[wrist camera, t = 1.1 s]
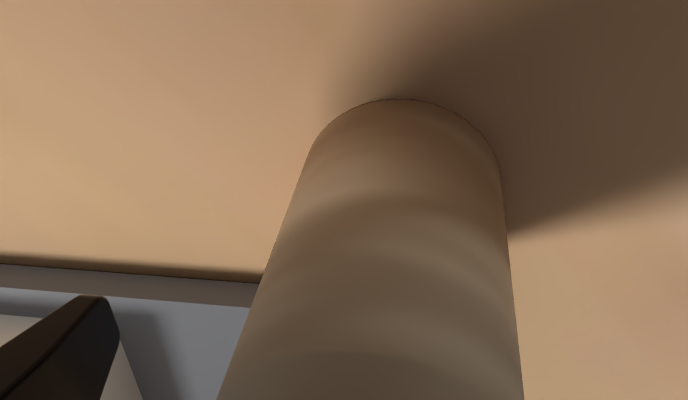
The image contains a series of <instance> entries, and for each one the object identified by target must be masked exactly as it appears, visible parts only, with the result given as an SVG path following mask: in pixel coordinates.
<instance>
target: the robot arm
mask: <svg viewBox="0 0 688 400" xmlns="http://www.w3.org/2000/svg"><path fill="white" fill-rule="evenodd" d="M119 342H120V330H119V327H118V325H117V322H116V319H115V317H114V314H113V311H112V309H111V306H110V303H109V301H108V300H107V299H106V298H105V297H104V296H98V295H86V294H83V295H79V296H76V297H75V298H73V299H72V300H70V301H69V302H67V303H66V304H64V305H63V306H61V307H59V308H58V309H56V310H55V311H53V312H52V313H50V314H49V315H47V316H46V317H44V318H43V319H41V320H40V321H38V322H37V323H35V324H34V325H32V326H31V327H29V328H28V329H26V330H25V331H23V332H22V333H20V334H19V335H17V336H16V337H14V338H13V339H11V340H10V341H8V342H7V343H5V344H4V345H2V346H1V347H0V400H100V398H101V395H102V392H103V389H104V387H105V384H106V381H107V378H108V375H109V372H110V369H111V367H112V364H113V361H114V358H115V355H116V352H117V349H118V346H119Z"/></svg>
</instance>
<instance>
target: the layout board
mask: <svg viewBox="0 0 688 400" xmlns="http://www.w3.org/2000/svg"><path fill="white" fill-rule="evenodd" d="M258 287H259V284H253V283H240V282H227V281H214V280H201V279H188V278H175V277H162V276H149V275H137V274H124V273H111V272H98V271H85V270H72V269H59V268H46V267H33V266H20V265H7V264H0V347H1V346H2V345H4V344H5V343H7V342H8V341H10V340H11V339H13V338H14V337H16V336H17V335H19V334H20V333H22V332H23V331H25V330H26V329H28V328H29V327H31V326H32V325H34V324H35V323H37V322H38V321H40V320H41V319H43V318H44V317H46V316H47V315H49V314H50V313H52V312H53V311H55V310H56V309H58V308H59V307H61V306H63V305H64V304H66V303H67V302H69V301H70V300H72V299H73V298H75V297H76V296H79V295H83V294H86V295H98V296H104V297H105V298H106V299H107V300H108V301H109V303H110V306H111V309H112V311H113V314H114V317H115V319H116V322H117V325H118V327H119V330H120V342H119V346H118V349H117V352H116V355H115V358H114V361H113V364H112V367H111V369H110V372H109V375H108V378H107V381H106V384H105V387H104V389H103V392H102V395H101V398H100V400H216V399H217V396H218V393H219V391H220V388H221V385H222V383H223V380H224V377H225V375H226V372H227V369H228V367H229V364H230V361H231V359H232V356H233V353H234V351H235V348H236V345H237V343H238V340H239V337H240V335H241V332H242V330H243V327H244V324H245V322H246V319H247V316H248V314H249V311H250V308H251V306H252V303H253V300H254V298H255V295H256V292H257V290H258Z"/></svg>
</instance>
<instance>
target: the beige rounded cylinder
mask: <svg viewBox="0 0 688 400" xmlns="http://www.w3.org/2000/svg"><path fill="white" fill-rule="evenodd" d="M216 400H524V392H523V383H522V373H521V364H520V354H519V345H518V336H517V326H516V317H515V307H514V298H513V289H512V279H511V270H510V260H509V251H508V242H507V232H506V223H505V214H504V204H503V195H502V185H501V176H500V169H499V166H498V162H497V159H496V157H495V155H494V153H493V150H492V149H491V147H490V146H489V144H488V142H487V141H486V139H485V138H484V137H483V136H482V135H481V134H480V133H479V131H478V130H477V129H476V128H474V127H473V126H472V125H471V124H470V123H469V122H467V121H466V120H465V119H463V118H461V117H460V116H458V115H457V114H455V113H453V112H451V111H449V110H447V109H445V108H443V107H440V106H437V105H434V104H431V103H427V102H422V101H417V100H408V99H387V100H380V101H374V102H370V103H367V104H363V105H360V106H358V107H355V108H353V109H351V110H349V111H347V112H345V113H343V114H342V115H340V116H338V117H337V118H336V119H334V120H333V121H332V122H331V123H329V124H328V125H327V126H326V127H325V128H324V130H323V131H322V132H321V133H320V134H319V136H318V137H317V138H316V140H315V141H314V143H313V145H312V147H311V149H310V151H309V154H308V156H307V159H306V162H305V164H304V167H303V170H302V172H301V175H300V178H299V180H298V183H297V186H296V188H295V191H294V194H293V196H292V199H291V202H290V204H289V207H288V210H287V212H286V215H285V218H284V220H283V223H282V226H281V228H280V231H279V234H278V236H277V239H276V242H275V244H274V247H273V250H272V252H271V255H270V258H269V260H268V263H267V266H266V268H265V271H264V274H263V276H262V279H261V282H260V284H259V287H258V290H257V292H256V295H255V298H254V300H253V303H252V306H251V308H250V311H249V314H248V316H247V319H246V322H245V324H244V327H243V330H242V332H241V335H240V337H239V340H238V343H237V345H236V348H235V351H234V353H233V356H232V359H231V361H230V364H229V367H228V369H227V372H226V375H225V377H224V380H223V383H222V385H221V388H220V391H219V393H218V396H217V399H216Z"/></svg>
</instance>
